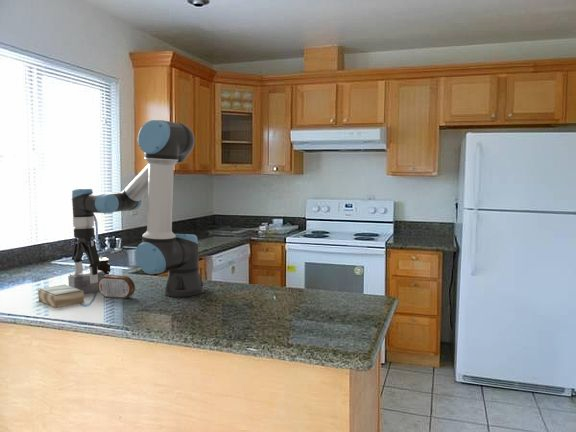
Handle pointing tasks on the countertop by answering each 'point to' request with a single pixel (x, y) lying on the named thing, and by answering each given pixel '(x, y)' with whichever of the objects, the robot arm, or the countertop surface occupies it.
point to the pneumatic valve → (104, 265)
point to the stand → (60, 295)
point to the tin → (116, 286)
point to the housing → (84, 281)
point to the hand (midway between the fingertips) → (86, 280)
